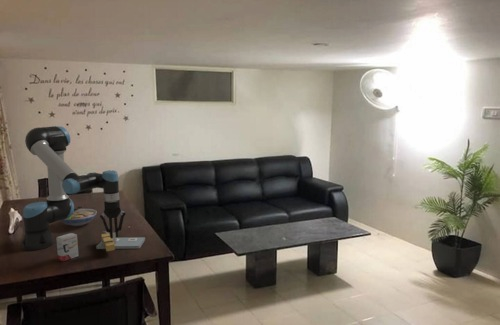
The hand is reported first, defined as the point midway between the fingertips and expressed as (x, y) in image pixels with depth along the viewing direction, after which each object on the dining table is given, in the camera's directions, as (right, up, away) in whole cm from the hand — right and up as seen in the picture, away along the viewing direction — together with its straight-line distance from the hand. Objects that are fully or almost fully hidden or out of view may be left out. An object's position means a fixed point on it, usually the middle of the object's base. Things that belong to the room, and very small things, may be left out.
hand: (114, 243), depth 204 cm
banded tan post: (-5, -2, +4) cm, 6 cm away
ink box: (-21, -6, -8) cm, 23 cm away
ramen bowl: (-39, +3, +44) cm, 59 cm away
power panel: (0, -3, +11) cm, 11 cm away
